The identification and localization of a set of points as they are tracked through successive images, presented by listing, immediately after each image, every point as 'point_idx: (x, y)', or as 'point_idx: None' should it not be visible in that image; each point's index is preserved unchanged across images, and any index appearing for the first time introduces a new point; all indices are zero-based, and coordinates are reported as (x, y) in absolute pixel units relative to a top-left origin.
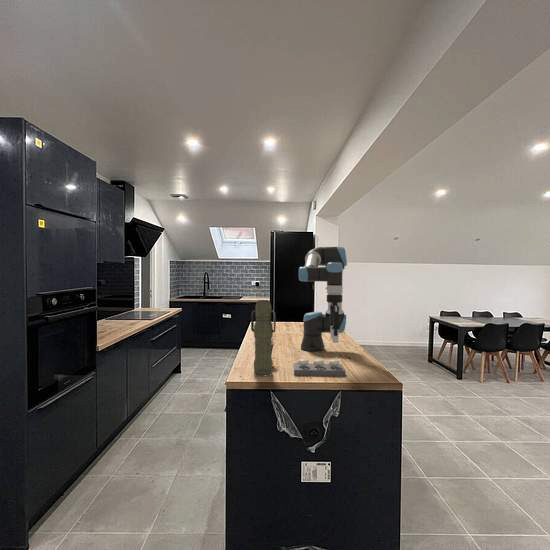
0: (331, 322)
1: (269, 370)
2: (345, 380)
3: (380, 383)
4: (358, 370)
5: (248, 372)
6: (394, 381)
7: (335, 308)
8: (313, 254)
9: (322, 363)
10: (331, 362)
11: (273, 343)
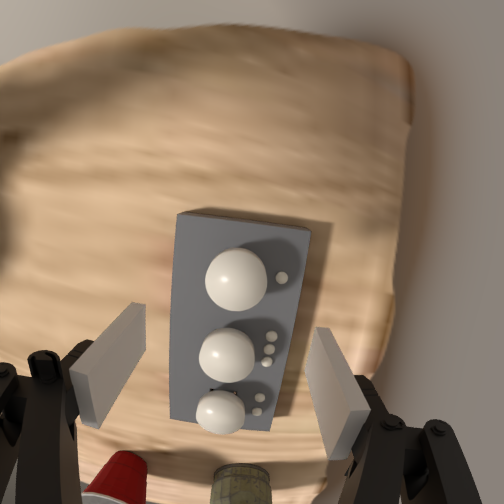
0: (75, 451)
1: (263, 479)
2: (368, 246)
3: (413, 117)
4: (210, 132)
5: None
6: (388, 53)
7: None
8: None
9: (249, 342)
10: (257, 301)
11: (117, 501)
